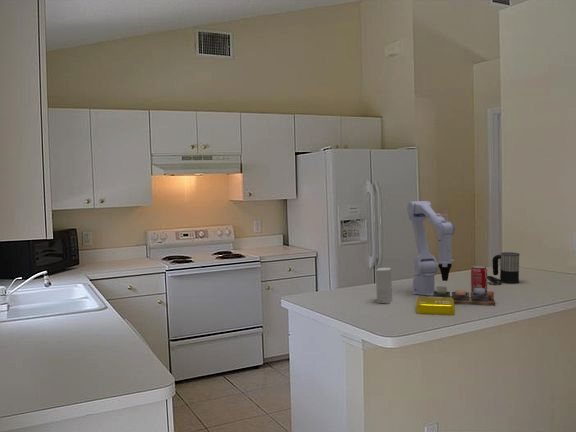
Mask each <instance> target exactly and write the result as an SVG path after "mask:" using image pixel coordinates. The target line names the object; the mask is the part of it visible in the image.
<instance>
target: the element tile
mask: <svg viewBox="0 0 576 432" xmlns="http://www.w3.org/2000/svg"><path fill="white" fill-rule="evenodd" d="M415 303H416V304H415V305H416V306H415V309H416V310H415V311H416V314H420V315H436V314H437V315H441V316H454V315H455V304H454V299H453V298H451V297H428V296H425V295H419V296H417V298H416V302H415Z"/></svg>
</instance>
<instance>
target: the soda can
mask: <svg viewBox="0 0 576 432" xmlns="http://www.w3.org/2000/svg"><path fill="white" fill-rule="evenodd" d="M487 276H488V269H487V266H486V265H472V266H471V269H470V278H471V279H470V293H471V292H474V288H484V289H485V293H488V279H487Z"/></svg>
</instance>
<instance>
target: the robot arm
mask: <svg viewBox="0 0 576 432" xmlns="http://www.w3.org/2000/svg"><path fill="white" fill-rule="evenodd" d="M407 214H408V218H409V221H411V224H412V229H413V234H414V238H415V243H416V248H417V253H418V255H417V256H416V257H415V259H414V263H413V264H414V271H415V273H416V274H414V276H413V279H412V295H419V296H428V295H433V294H434V291H435V276H436V275H437V273H439V271H440V273H441V274H440V275H441V281H443V282H444V281H445V282H448V280H449V275H450V270H451V269H452V266H453V265H452V263H455V259H453V251H452V250H453V248H452V247H453V245H452V244H453V243H452V241H453V238H452V237H453V236H454V234H455V230H456V229H455V225H454V223H453V222H452V221H447V220H446V219H445V218H444V217H443V216H442V214H441V213H436V212H435V211H434V209H433V208H432V203H431V201H429V200H416V201H415V200H413V201H412V200H410V201H409V202H408V204H407ZM427 218H428V220H429V223H430V225H431V226H433V228H434V229H435V233H436V238H437V243H438V245H437V247H438V248H437V250H438V253H437V255H438V256H437V259H436V256H434V255H433V254H432V253H430V247H429V244H428V240H427V239H428V238H427V233H426V230H425V225H424V221H425V220H427Z"/></svg>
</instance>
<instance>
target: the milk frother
mask: <svg viewBox="0 0 576 432" xmlns="http://www.w3.org/2000/svg"><path fill="white" fill-rule="evenodd" d="M520 255H521V254H520V253H518V252H511V251H506V252H505V251H504V252H500V254H497V255H495V256H493V258H492V275H493V276H492V275H487V281H489V282H491V283H493V285H496V284H497V285H502V283H503V284H513V285H514V284H519V283H520V278H519V277H520ZM499 260H500V266H499ZM499 267H500V269H499ZM499 270H500V271H499ZM499 273H500V274H499ZM498 275H500V276H499V278H500V279H499V278H497V277H494V276H498Z"/></svg>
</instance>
